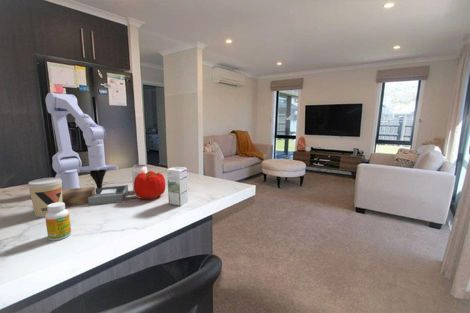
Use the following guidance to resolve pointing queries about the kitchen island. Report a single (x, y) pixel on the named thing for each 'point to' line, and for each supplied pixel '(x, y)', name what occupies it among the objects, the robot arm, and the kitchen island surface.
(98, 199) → the tray
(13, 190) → the kitchen island surface
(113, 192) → the white block
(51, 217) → the supplement bottle
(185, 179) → the syrup box
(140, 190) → the tomato
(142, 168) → the can
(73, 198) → the brown shallow box
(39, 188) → the coffee cup
